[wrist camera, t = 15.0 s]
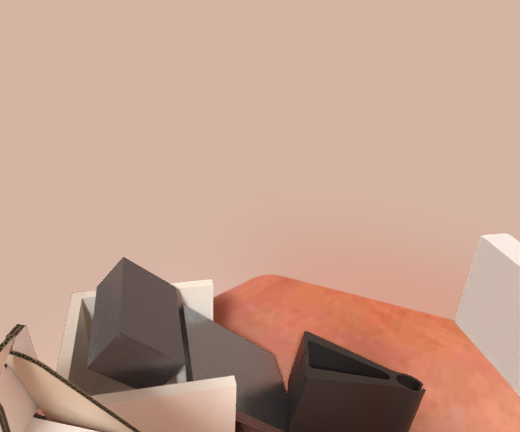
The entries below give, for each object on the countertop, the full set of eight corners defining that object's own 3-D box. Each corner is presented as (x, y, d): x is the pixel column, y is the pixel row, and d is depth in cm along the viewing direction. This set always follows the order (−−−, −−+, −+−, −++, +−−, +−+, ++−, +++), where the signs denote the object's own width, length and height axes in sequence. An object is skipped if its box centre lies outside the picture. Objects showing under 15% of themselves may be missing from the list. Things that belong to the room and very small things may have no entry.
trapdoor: (85, 373, 34) (119, 337, 33) (97, 283, 43) (123, 254, 42) (284, 456, 44) (313, 430, 43) (258, 369, 53) (282, 346, 52)
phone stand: (304, 330, 50) (413, 362, 49) (288, 379, 51) (394, 410, 51) (305, 376, 41) (438, 415, 41) (286, 433, 42) (414, 471, 42)
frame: (72, 516, 39) (47, 412, 33) (88, 385, 51) (71, 292, 45) (244, 482, 42) (249, 383, 36) (220, 367, 54) (221, 278, 48)
